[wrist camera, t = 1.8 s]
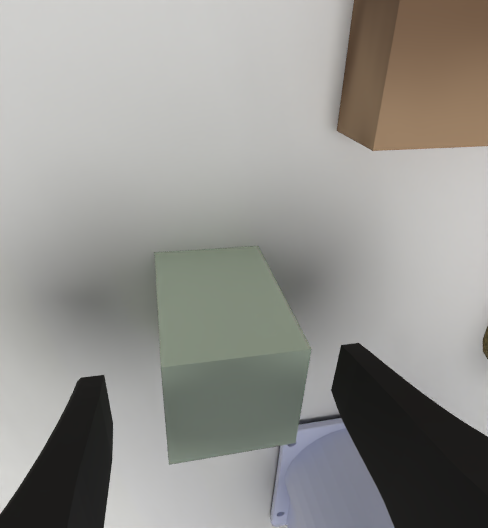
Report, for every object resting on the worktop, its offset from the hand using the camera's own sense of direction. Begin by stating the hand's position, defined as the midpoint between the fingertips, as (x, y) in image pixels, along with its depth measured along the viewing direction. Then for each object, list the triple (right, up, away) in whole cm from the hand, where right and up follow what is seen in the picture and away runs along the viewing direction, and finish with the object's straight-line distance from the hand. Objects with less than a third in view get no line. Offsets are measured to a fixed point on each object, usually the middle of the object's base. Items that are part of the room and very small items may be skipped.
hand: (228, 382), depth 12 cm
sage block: (-1, +2, +4) cm, 5 cm away
